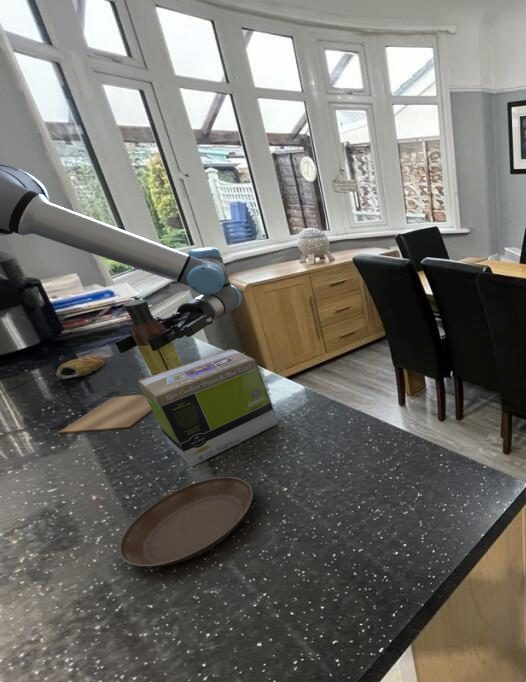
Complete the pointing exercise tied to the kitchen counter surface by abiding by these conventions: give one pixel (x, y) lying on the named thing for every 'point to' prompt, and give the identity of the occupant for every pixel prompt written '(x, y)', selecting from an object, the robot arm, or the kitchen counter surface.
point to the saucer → (186, 522)
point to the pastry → (79, 367)
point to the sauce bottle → (145, 330)
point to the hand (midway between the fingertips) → (135, 346)
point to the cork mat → (112, 415)
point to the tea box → (210, 404)
